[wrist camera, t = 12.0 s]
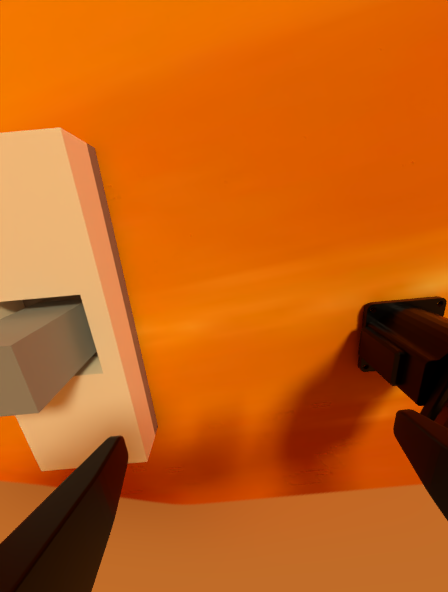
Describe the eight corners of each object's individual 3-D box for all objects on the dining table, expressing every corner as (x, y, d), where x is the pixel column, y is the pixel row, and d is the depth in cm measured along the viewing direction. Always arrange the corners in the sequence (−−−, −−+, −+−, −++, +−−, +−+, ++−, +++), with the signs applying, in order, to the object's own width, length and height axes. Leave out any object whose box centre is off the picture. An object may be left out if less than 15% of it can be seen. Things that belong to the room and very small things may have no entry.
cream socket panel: (94, 148, 15) (60, 127, 12) (157, 426, 23) (147, 461, 19) (-41, 160, 15) (-113, 143, 12) (67, 434, 23) (41, 471, 19)
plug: (90, 298, 17) (10, 345, 11) (102, 344, 19) (39, 413, 12) (37, 302, 17) (-75, 352, 11) (53, 348, 19) (-38, 419, 12)
